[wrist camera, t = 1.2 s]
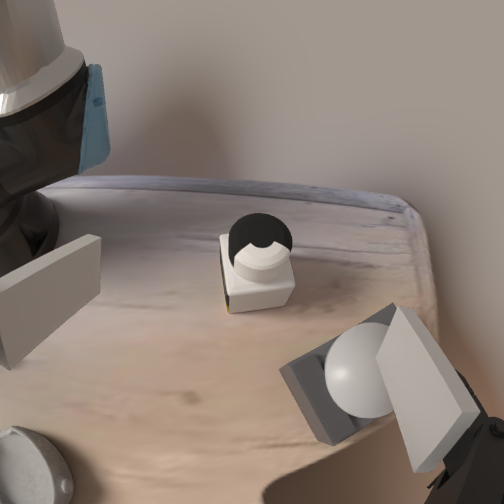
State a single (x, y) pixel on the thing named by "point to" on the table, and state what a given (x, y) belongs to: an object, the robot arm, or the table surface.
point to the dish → (32, 469)
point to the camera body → (342, 380)
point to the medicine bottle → (256, 263)
